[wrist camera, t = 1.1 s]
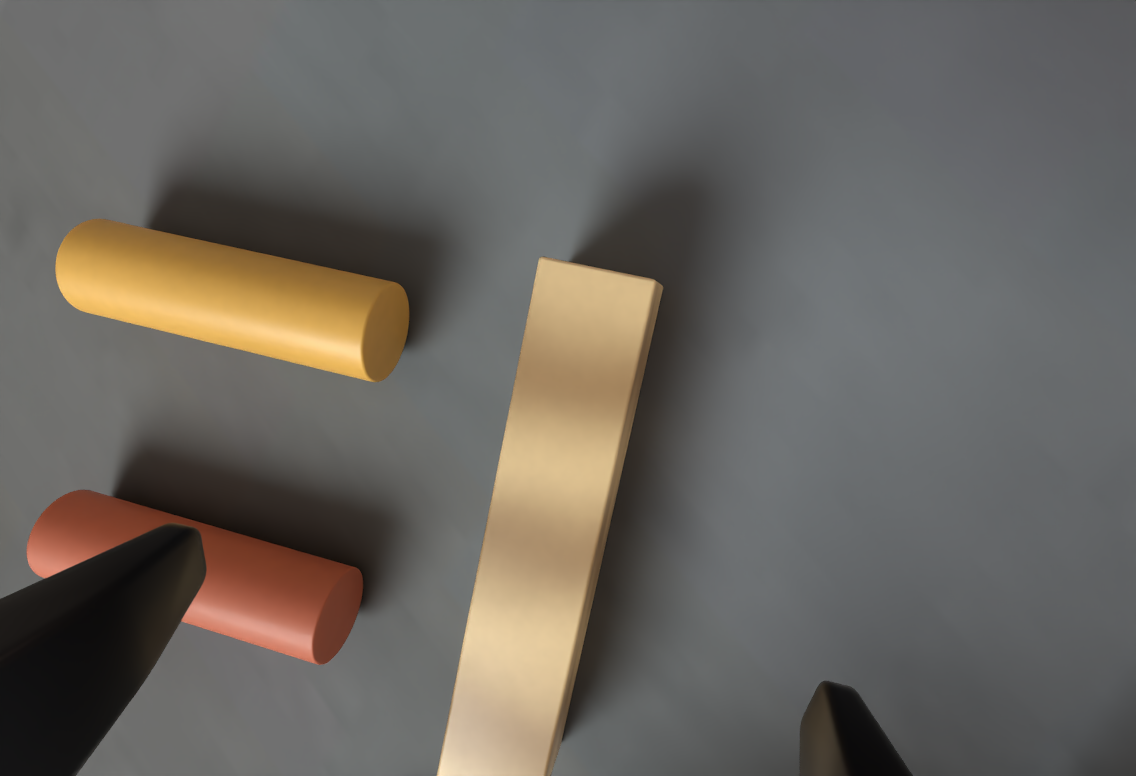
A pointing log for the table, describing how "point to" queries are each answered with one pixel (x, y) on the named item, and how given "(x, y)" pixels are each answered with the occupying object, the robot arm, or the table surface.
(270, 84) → the table surface
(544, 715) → the light wooden bar
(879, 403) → the table surface
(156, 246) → the ochre rod
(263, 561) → the terracotta rod
